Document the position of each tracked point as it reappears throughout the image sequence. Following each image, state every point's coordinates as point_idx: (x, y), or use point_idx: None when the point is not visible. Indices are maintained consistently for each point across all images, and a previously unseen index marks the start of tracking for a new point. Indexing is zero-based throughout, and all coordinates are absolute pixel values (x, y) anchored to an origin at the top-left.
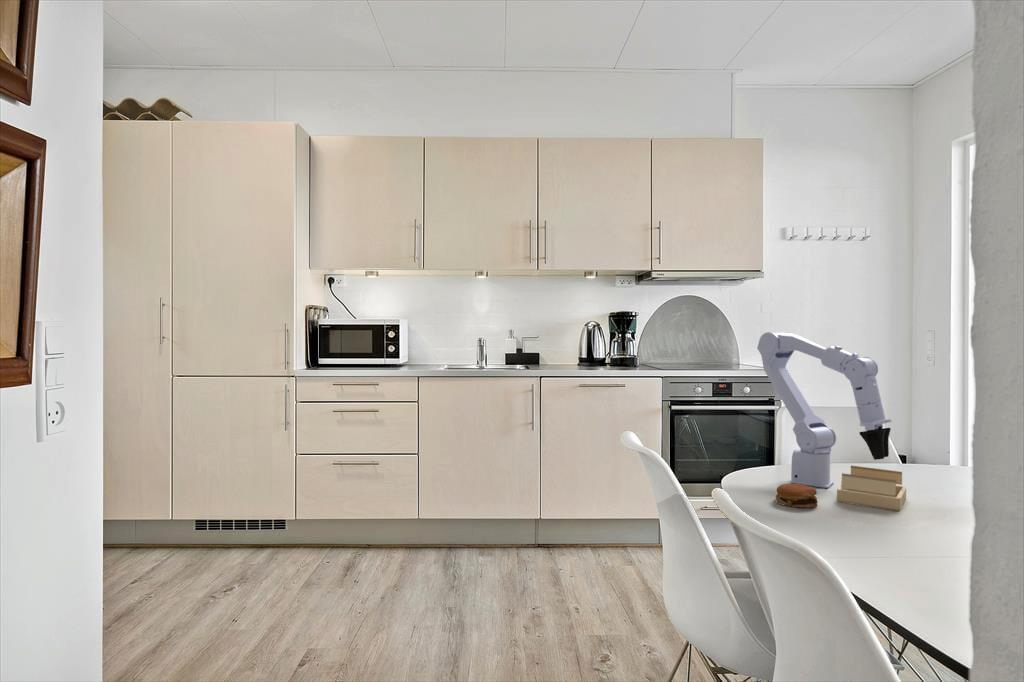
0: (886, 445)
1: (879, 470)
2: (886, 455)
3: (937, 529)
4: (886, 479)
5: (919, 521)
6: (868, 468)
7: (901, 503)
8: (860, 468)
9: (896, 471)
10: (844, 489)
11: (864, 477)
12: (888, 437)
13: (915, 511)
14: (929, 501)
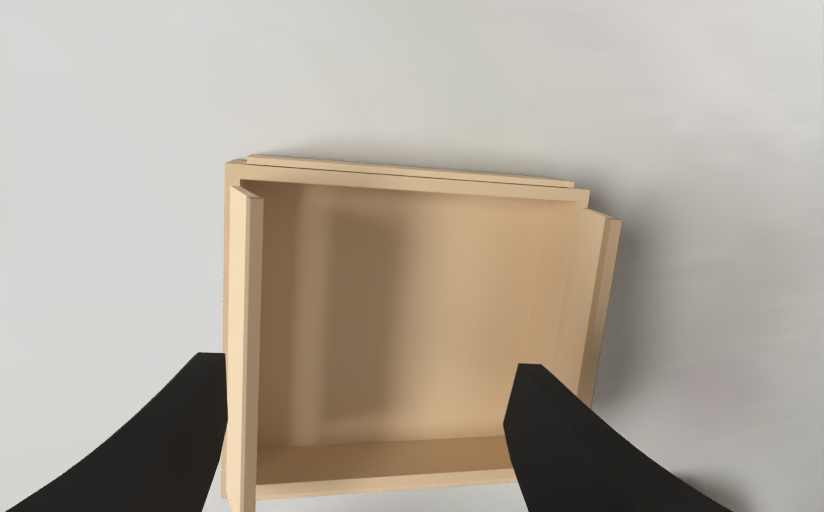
0: (181, 438)
1: (258, 359)
2: (222, 372)
3: (777, 18)
4: (611, 277)
5: (686, 89)
6: (255, 436)
7: (485, 173)
8: (254, 483)
9: (262, 240)
10: (415, 459)
11: (587, 401)
12: (64, 501)
13: (514, 104)
14: (216, 18)
